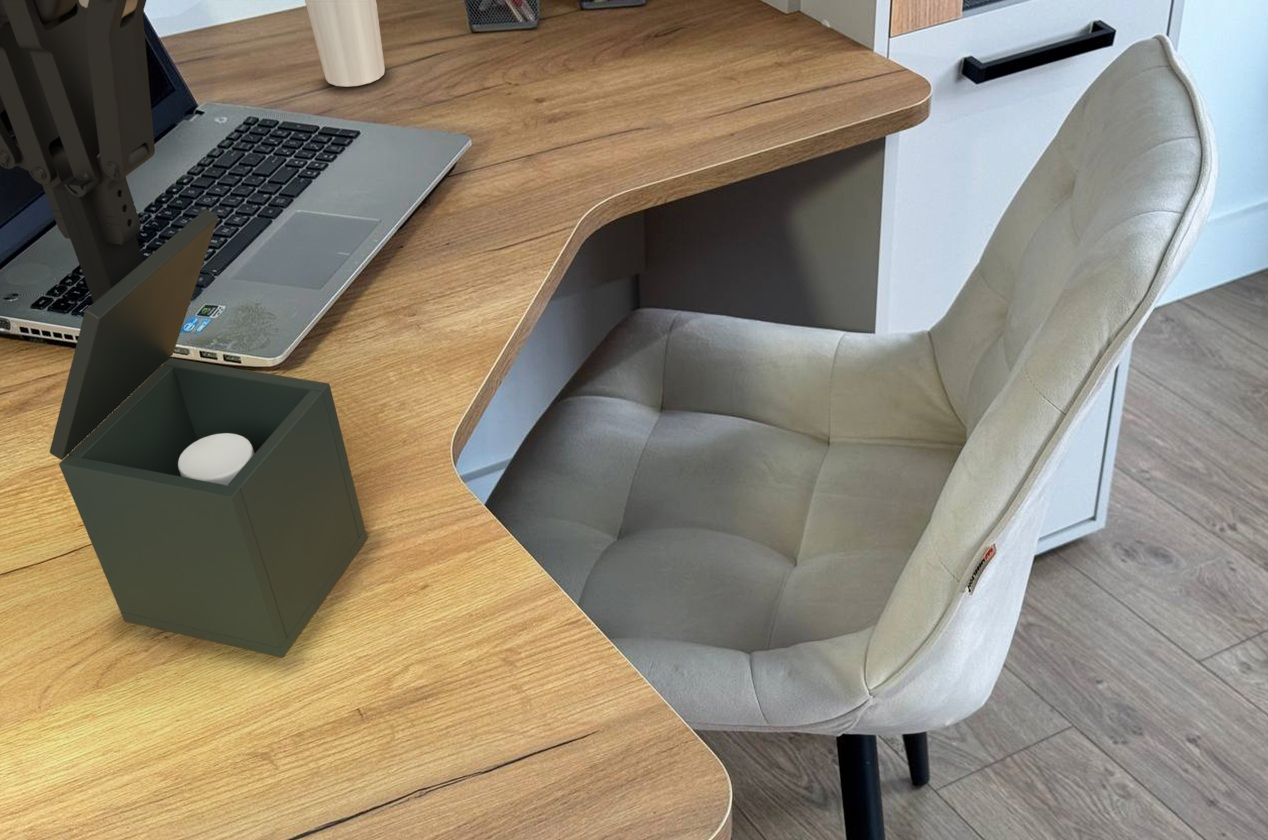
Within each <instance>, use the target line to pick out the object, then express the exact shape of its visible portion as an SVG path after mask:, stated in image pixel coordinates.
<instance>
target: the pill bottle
mask: <svg viewBox="0 0 1268 840" xmlns="http://www.w3.org/2000/svg"><path fill="white" fill-rule="evenodd" d="M253 455H254V451H253V447H252V445H251V443H250V442H249V441H248V440H247V439H246V438H244V437H243V436H240V435H237V434H230V433H222V434H215V435H210V436H207V437H204V438H202V439H199V440H197V441H196V442H194V443H192V444H191V445H190V446H188V447H187V448H186V449H185V450H184V451H183V452H182V454H181V455H180V458H179V460H178V468H179V471H180V475H181V477H185V478H191V479H196V480H201V481H206V482H212V483H217V484H222V485H227V486H228V484H229V483H230V481H231V480H232V479H233V478H234V477H235V476H236V475H237V473H238V472H239V471H240V470H241V469H242V468H243V467H244V465H245V464H246V463H247V462H248V461H249V460H250V459H251V457H252V456H253Z"/></svg>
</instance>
